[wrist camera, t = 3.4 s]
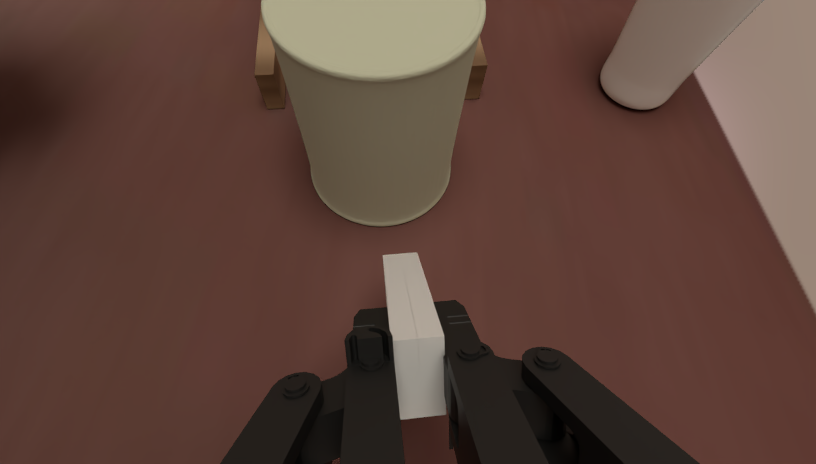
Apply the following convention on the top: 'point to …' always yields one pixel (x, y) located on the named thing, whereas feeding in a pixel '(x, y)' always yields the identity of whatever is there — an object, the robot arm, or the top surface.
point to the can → (377, 96)
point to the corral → (275, 85)
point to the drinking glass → (667, 47)
